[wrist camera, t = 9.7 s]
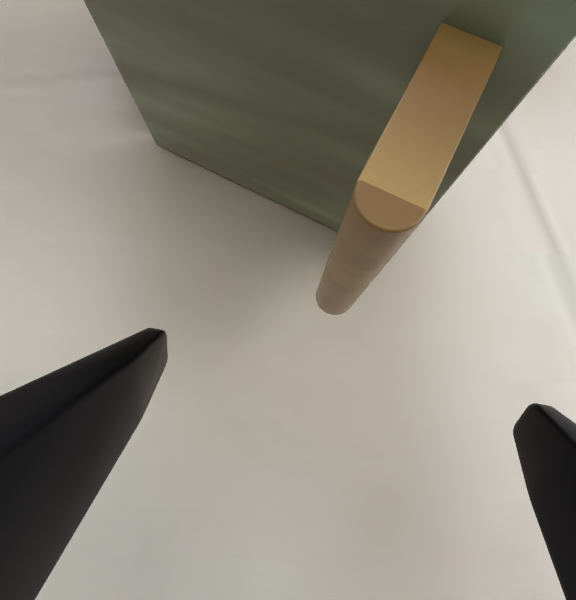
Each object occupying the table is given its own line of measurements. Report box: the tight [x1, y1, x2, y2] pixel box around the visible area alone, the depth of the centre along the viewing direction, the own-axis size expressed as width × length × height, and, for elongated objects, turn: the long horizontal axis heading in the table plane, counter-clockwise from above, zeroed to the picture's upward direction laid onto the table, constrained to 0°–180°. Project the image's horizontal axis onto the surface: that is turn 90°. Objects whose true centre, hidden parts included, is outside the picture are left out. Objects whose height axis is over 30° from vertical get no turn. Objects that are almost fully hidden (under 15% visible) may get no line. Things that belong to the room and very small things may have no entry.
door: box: [84, 0, 576, 315], centre depth 14 cm, size 7×16×14 cm, turn 62°
